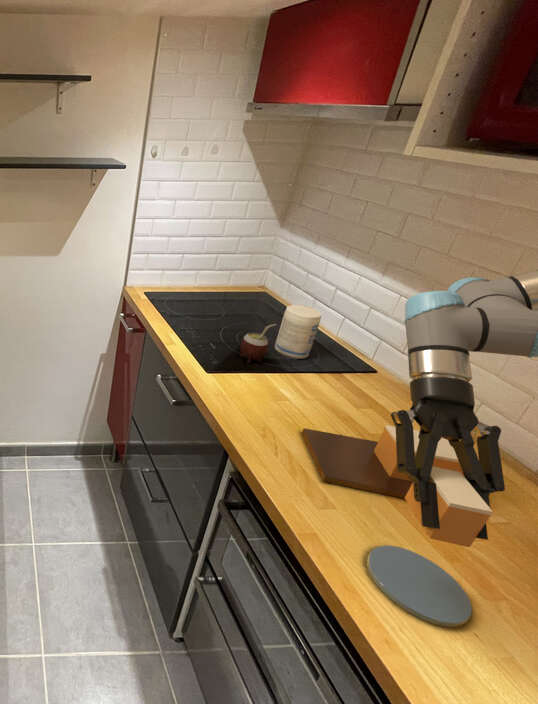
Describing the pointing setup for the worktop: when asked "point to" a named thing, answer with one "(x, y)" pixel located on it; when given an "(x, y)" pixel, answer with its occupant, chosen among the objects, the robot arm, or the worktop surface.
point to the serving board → (352, 463)
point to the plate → (419, 586)
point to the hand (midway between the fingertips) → (454, 532)
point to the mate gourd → (254, 346)
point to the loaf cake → (388, 453)
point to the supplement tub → (297, 331)
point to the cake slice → (454, 508)
